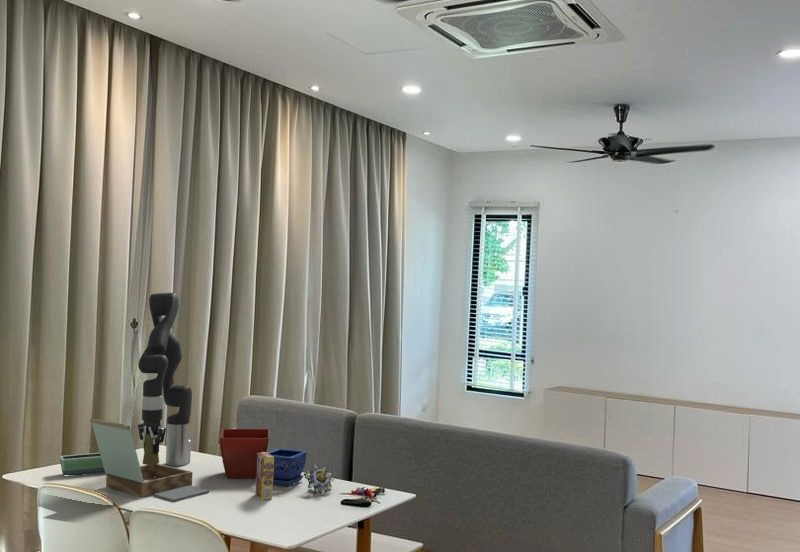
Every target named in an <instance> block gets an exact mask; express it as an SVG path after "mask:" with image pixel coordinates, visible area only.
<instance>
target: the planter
mask: <svg viewBox="0 0 800 552" xmlns="http://www.w3.org/2000/svg"><path fill="white" fill-rule="evenodd" d="M59 461H60V466H61V472H62V475H63V474H64V475H78V476H84V475H83V474H88V475H94V474H95V475H97V474H106V473H105V470H104V467H103V463H102V459H101V455H100V452H94V453H93V452H91V453H82V454H81V453H79V454H68V455H60V456H59ZM64 475H63V476H64Z"/></svg>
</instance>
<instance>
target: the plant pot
mask: <svg viewBox="0 0 800 552" xmlns="http://www.w3.org/2000/svg"><path fill="white" fill-rule="evenodd" d="M269 441H270V429H268V428H222V430H221V434H220V436H219V446H220V453H221V458H222V459H221V460H222V465H223V469H224V472H225V473H224V474H225V476H226V478H227V479H256V470H257V453H261V452H268V447H269Z"/></svg>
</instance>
